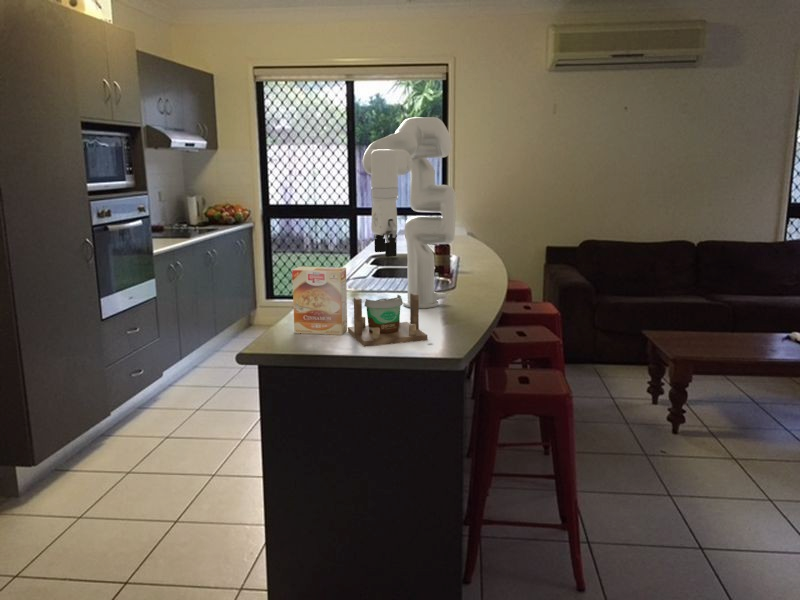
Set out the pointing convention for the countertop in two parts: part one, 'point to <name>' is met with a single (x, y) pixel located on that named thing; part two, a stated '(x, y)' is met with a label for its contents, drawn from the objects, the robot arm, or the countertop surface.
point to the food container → (384, 314)
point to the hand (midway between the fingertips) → (385, 254)
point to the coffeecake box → (320, 300)
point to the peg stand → (404, 333)
